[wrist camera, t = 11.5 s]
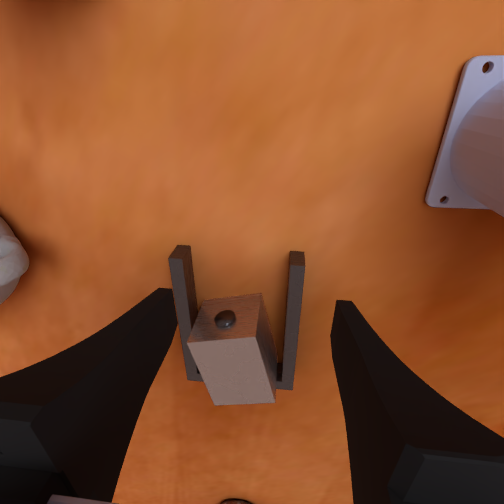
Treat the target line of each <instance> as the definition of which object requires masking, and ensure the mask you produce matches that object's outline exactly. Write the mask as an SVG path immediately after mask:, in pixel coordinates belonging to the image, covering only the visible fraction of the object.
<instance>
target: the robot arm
mask: <svg viewBox="0 0 504 504" xmlns="http://www.w3.org/2000/svg"><path fill="white" fill-rule="evenodd" d="M486 62H488V63H489V69H488V71H486V72H485V73H483V71H482V67H483V65H484V64H485V63H486ZM443 196H446V199H445V200H444V201H443V202H440V199H441V198H442V197H443ZM425 202H426V203H427V204H428V205H429V206H430V207H442V208H469V209H491V210H493V211H494V212H496V213H498V214H499V215H501V216H502V217H504V56H476V57H472V58H471V59H469V60H468V61H467V62H466V63H465V66H464V68H463V71H462V74H461V78H460V81H459V85H458V88H457V91H456V95H455V98H454V102H453V105H452V109H451V112H450V115H449V119H448V122H447V126H446V129H445V132H444V136H443V139H442V143H441V146H440V149H439V153H438V156H437V160H436V163H435V166H434V170H433V173H432V177H431V180H430V183H429V187H428V190H427V194H426V197H425ZM177 324H178V322H177V316H176V310H175V304H174V297H173V291H172V289H168V288H158V289H157V290H155V291H154V292H153V293H151V294H150V295H149V296H147V297H146V298H145V299H143V300H142V301H141V302H140V303H138V304H137V305H136V306H134V307H133V308H132V309H130V310H129V311H128V312H126V313H125V314H123V315H122V316H121V317H119V318H118V319H116V320H115V321H113V322H112V323H110V324H109V325H107V326H106V327H105V328H103V329H101V330H100V331H98V332H97V333H95V334H93V335H92V336H90V337H88V338H86V339H85V340H83V341H81V342H79V343H78V344H76V345H74V346H72V347H70V348H68V349H66V350H64V351H62V352H60V353H58V354H56V355H54V356H52V357H50V358H47V359H45V360H43V361H41V362H38V363H36V364H34V365H31V366H29V367H26V368H24V369H22V370H19V371H16V372H14V373H11V374H8V375H5V376H3V377H0V504H117V503H111V502H112V499H113V495H114V492H115V488H116V485H117V481H118V478H119V475H120V471H121V468H122V465H123V462H124V459H125V455H126V452H127V449H128V446H129V443H130V440H131V437H132V434H133V431H134V428H135V425H136V422H137V420H138V417H139V414H140V411H141V409H142V406H143V403H144V401H145V398H146V396H147V393H148V391H149V389H150V387H151V385H152V383H153V381H154V378H155V376H156V374H157V372H158V370H159V368H160V366H161V364H162V362H163V360H164V358H165V356H166V354H167V352H168V349H169V347H170V345H171V343H172V340H173V337H174V334H175V331H176V327H177ZM330 337H331V349H332V358H333V363H334V368H335V373H336V378H337V382H338V387H339V391H340V396H341V401H342V405H343V410H344V416H345V423H346V432H347V440H348V450H349V459H350V469H351V480H352V491H353V502H354V504H504V438H503V437H501V436H500V435H498V434H497V433H495V432H493V431H492V430H490V429H489V428H487V427H486V426H484V425H482V424H481V423H479V422H478V421H476V420H475V419H473V418H472V417H470V416H469V415H467V414H466V413H464V412H463V411H462V410H460V409H459V408H457V407H456V406H455V405H453V404H452V403H450V402H449V401H448V400H446V399H445V398H444V397H442V396H441V395H440V394H439V393H437V392H436V391H435V390H434V389H432V388H431V387H430V386H429V385H428V384H426V383H425V382H424V381H423V380H422V379H420V378H419V377H418V376H417V375H416V374H415V373H414V372H413V371H411V370H410V369H409V368H408V367H407V366H406V365H405V364H404V363H403V362H402V361H401V360H400V359H399V358H398V357H397V356H396V355H395V354H394V353H393V352H392V351H391V350H390V349H389V347H388V346H387V345H386V344H385V343H384V342H383V341H382V339H381V338H380V337H379V336H378V335H377V333H376V332H375V331H374V330H373V329H372V327H371V326H370V325H369V324H368V322H367V321H366V320H365V318H364V317H363V316H362V314H361V313H360V312H359V310H358V309H357V307H356V306H355V305H354V303H353V302H352V301H345V300H337V301H336V306H335V312H334V318H333V324H332V330H331V335H330Z"/></svg>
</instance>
